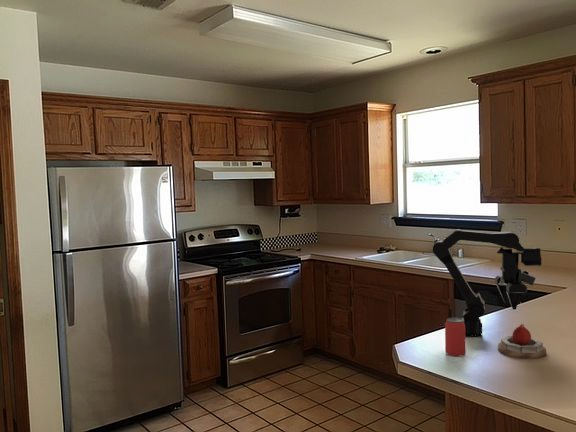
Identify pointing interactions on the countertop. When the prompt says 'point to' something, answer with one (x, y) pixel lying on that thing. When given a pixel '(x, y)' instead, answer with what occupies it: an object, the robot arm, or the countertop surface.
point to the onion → (521, 335)
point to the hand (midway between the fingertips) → (510, 306)
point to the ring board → (522, 355)
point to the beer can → (455, 337)
